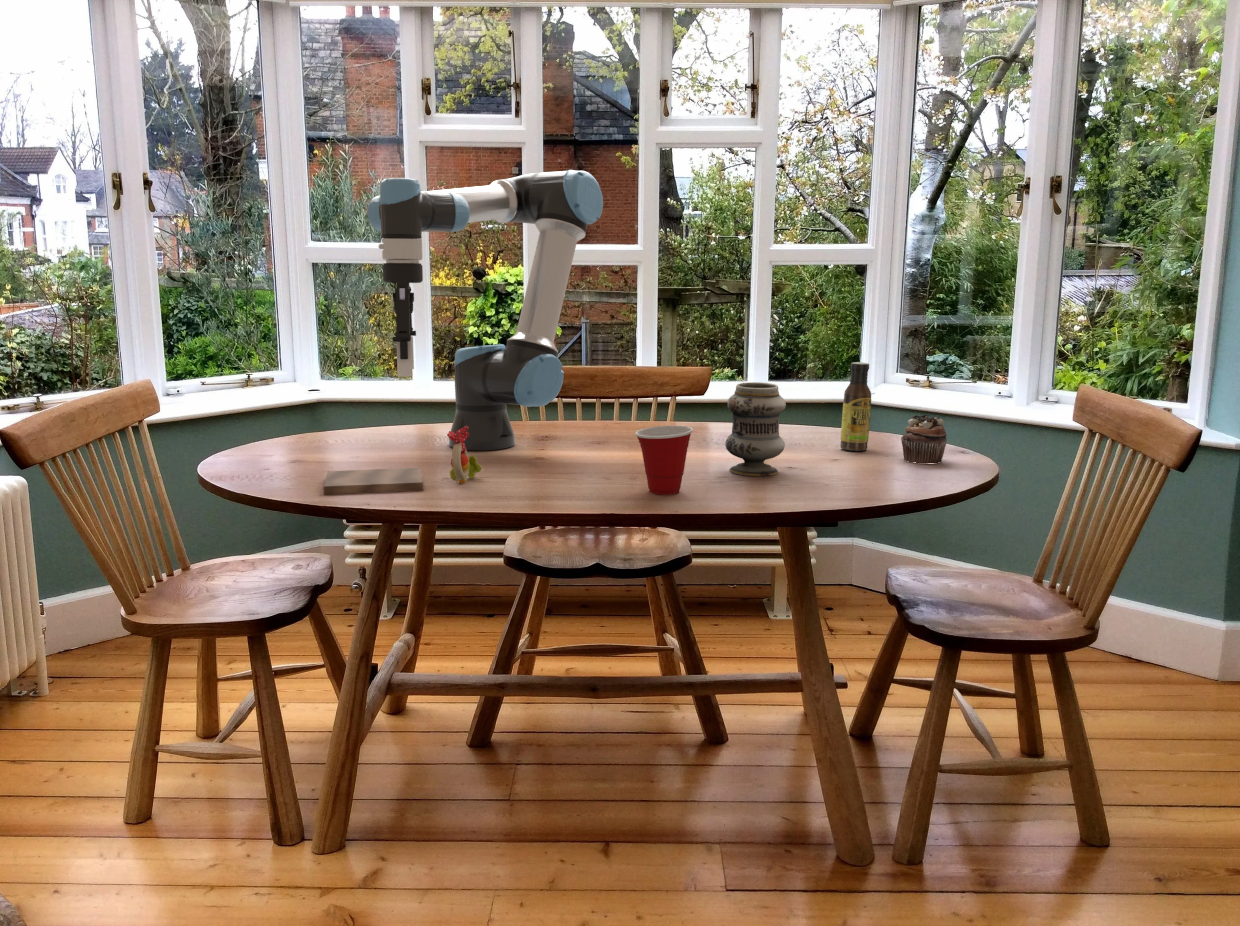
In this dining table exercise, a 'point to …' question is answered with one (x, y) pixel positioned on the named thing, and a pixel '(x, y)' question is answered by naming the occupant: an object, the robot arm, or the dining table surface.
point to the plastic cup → (664, 456)
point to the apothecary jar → (755, 427)
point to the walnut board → (373, 481)
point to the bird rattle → (462, 457)
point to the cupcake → (924, 440)
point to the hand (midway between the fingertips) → (406, 372)
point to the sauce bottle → (856, 410)
